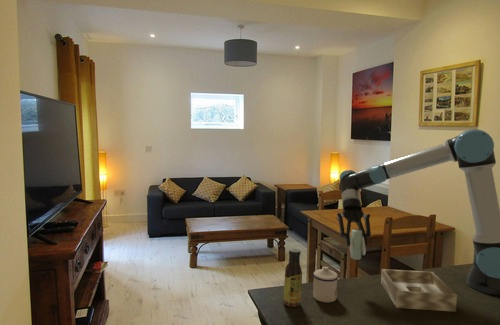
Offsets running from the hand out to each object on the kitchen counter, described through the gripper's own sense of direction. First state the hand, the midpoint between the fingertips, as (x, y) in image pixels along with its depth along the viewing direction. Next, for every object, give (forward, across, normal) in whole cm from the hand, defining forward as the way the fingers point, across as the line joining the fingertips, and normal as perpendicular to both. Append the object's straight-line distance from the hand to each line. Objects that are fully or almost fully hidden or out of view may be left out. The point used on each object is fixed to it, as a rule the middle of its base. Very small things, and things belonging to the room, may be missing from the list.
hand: (358, 253), depth 132 cm
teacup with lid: (+14, +13, -8) cm, 21 cm away
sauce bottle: (+20, +25, -3) cm, 32 cm away
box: (+11, -22, -11) cm, 27 cm away
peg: (0, 0, -5) cm, 5 cm away
